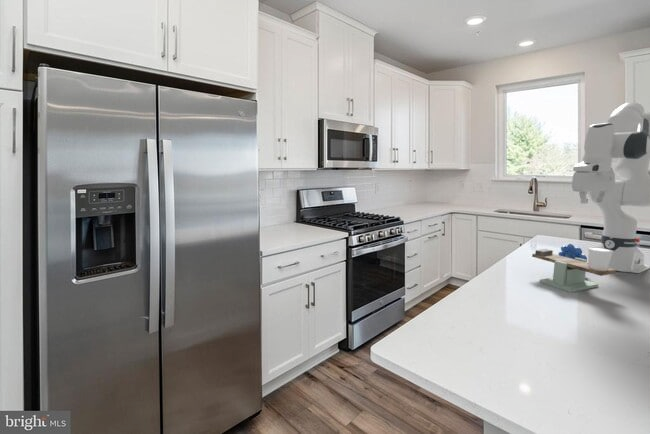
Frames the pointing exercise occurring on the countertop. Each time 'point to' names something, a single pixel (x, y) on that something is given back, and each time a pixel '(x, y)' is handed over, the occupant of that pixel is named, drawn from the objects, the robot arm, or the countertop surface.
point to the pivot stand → (568, 278)
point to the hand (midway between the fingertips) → (591, 202)
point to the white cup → (599, 258)
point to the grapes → (572, 252)
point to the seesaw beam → (569, 262)
